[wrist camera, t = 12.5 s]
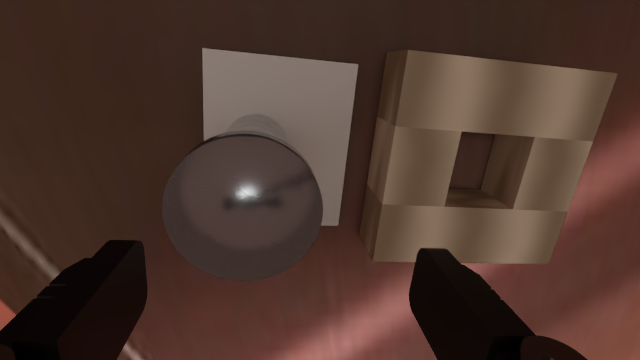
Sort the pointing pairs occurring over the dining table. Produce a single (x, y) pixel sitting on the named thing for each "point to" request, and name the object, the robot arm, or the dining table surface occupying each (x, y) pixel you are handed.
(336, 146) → the mat
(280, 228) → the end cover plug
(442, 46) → the dining table surface
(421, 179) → the bore housing
